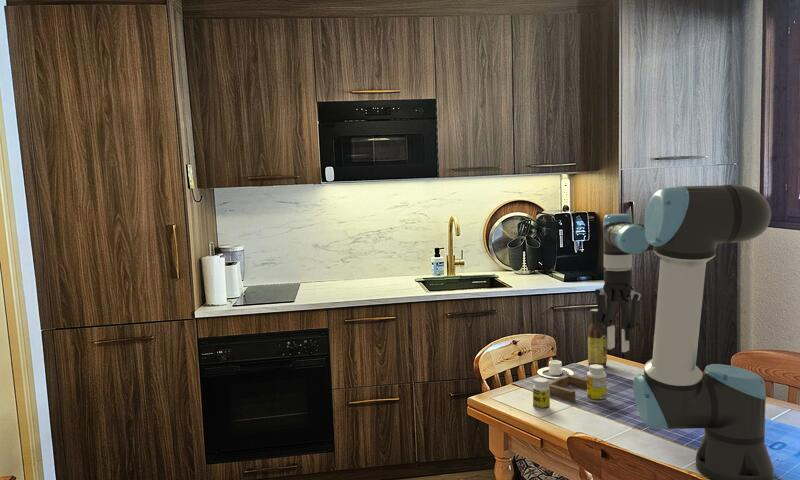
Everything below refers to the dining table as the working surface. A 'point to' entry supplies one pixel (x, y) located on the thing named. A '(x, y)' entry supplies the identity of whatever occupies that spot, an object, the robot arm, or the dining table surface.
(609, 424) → the dining table surface
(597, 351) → the sauce bottle
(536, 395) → the supplement bottle
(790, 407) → the dining table surface
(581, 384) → the pocket
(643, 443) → the dining table surface
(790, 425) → the dining table surface
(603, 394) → the supplement bottle
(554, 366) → the candle holder
